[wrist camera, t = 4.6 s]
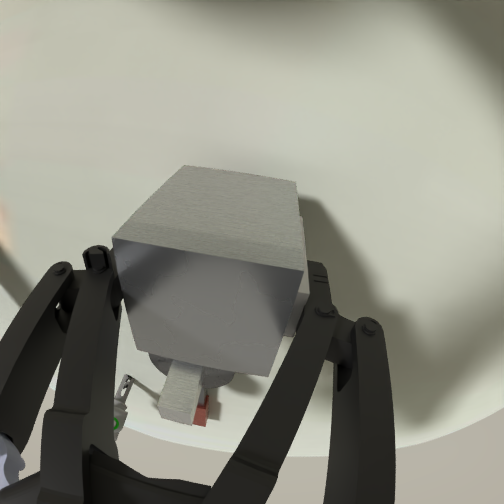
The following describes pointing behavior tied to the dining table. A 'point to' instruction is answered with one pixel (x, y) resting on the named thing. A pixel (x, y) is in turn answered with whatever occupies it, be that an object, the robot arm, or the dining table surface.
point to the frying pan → (187, 389)
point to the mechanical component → (121, 405)
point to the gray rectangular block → (212, 268)
